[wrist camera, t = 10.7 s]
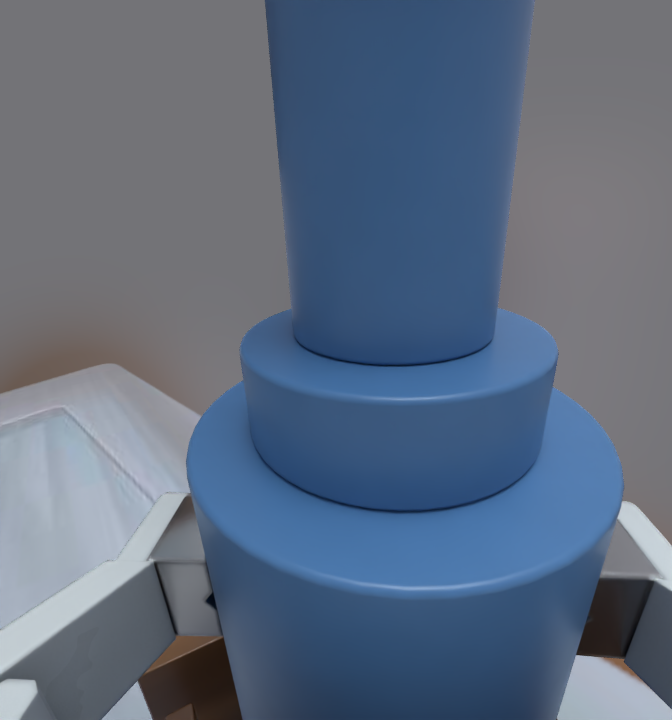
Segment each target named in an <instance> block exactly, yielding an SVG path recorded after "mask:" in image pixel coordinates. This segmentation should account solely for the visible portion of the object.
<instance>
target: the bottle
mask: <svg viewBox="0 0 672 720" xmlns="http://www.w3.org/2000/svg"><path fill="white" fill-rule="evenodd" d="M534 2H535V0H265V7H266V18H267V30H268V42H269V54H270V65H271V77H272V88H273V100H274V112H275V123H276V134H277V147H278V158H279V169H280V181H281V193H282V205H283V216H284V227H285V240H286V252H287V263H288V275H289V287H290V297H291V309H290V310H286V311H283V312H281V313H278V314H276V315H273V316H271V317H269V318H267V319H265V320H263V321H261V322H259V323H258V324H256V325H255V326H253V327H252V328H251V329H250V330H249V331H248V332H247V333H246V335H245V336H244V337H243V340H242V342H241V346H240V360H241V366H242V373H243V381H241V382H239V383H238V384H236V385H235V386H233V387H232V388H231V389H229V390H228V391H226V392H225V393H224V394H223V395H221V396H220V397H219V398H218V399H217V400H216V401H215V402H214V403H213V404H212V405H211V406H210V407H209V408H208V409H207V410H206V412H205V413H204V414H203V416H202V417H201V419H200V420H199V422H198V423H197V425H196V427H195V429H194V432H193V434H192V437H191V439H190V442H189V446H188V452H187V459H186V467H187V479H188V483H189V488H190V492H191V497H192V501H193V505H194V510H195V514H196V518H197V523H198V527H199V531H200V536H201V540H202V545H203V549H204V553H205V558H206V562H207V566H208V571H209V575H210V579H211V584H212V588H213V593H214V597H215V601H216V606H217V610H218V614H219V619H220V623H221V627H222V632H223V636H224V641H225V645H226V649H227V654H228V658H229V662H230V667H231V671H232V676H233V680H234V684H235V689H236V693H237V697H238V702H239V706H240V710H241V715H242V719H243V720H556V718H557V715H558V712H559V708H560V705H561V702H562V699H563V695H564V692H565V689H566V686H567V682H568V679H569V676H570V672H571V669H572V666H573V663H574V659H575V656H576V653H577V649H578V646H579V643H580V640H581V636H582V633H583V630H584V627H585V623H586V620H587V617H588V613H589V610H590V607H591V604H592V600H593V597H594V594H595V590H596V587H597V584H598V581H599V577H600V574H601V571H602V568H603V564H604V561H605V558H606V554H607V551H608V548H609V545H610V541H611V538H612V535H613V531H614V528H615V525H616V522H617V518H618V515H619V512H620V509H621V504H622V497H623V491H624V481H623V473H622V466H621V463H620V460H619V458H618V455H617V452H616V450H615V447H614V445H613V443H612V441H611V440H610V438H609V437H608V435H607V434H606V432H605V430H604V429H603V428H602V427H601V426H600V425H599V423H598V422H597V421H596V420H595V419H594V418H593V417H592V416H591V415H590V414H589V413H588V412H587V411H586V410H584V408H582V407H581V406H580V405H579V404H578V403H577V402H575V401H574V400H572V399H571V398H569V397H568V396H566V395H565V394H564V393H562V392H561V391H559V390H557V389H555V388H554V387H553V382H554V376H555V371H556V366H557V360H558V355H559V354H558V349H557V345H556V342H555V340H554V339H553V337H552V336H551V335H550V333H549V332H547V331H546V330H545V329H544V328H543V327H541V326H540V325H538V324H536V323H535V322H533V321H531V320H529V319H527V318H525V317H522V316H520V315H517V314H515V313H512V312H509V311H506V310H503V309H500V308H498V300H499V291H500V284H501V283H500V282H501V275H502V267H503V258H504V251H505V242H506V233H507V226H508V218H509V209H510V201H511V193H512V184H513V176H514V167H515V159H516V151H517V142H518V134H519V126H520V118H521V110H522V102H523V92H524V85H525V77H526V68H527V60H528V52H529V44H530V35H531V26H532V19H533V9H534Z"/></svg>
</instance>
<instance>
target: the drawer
mask: <svg viewBox="0 0 672 720" xmlns="http://www.w3.org/2000/svg"><path fill="white" fill-rule="evenodd" d="M137 681H138V683H139V686H140V688H141V691H142V693H143V696H144V699H145V701H146V704H147V706H148V709H149V711H150V714H151V716H152V719H153V720H243V719H242V715H241V710H240V706H239V702H238V697H237V693H236V689H235V684H234V680H233V676H232V671H231V667H230V662H229V658H228V654H227V649H226V645H225V641H224V636H223V637H220V636H176V640H175V641H174V642H173V643H172V644H171V645H170V646H169V647H168V648H167V649H166V650H165V651H164V653H163V654H162V655H161V656H160V657H159V658H158V659H157V660H156V661H155V662H154V663H153V664H152V665H151V666H150V668H149V669H148V670H147V671H146V672H145V673H144V674H143V675H142V676H141V677H140V678H139V679H138V680H137ZM556 720H557V718H556Z"/></svg>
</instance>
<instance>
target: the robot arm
mask: <svg viewBox="0 0 672 720" xmlns="http://www.w3.org/2000/svg"><path fill="white" fill-rule="evenodd" d="M176 636H220V637H223V632H222V627H221V623H220V619H219V614H218V610H217V606H216V601H215V597H214V593H213V588H212V584H211V579H210V575H209V571H208V566H207V562H206V558H205V553H204V549H203V545H202V540H201V536H200V531H199V527H198V523H197V518H196V514H195V510H194V505H193V501H192V497H191V493H176V492H166V493H164V494H163V495H161V496H160V497H159V498H158V500H157V501H156V502H155V504H154V505H153V507H152V508H151V510H150V511H149V512H148V514H147V515H146V517H145V518H144V520H143V521H142V522H141V524H140V525H139V527H138V528H137V530H136V531H135V532H134V534H133V535H132V537H131V538H130V540H129V541H128V542H127V544H126V545H125V547H124V548H123V550H122V551H121V552H120V554H119V555H118V557H117V558H116V560H106V561H105V562H103V563H102V564H100V565H99V566H97V567H96V568H94V569H93V570H91V571H89V572H88V573H86V574H85V575H83V576H82V577H80V578H79V579H77V580H76V581H74V582H73V583H71V584H70V585H68V586H66V587H65V588H63V589H62V590H60V591H59V592H57V593H56V594H54V595H53V596H51V597H50V598H48V599H46V600H45V601H43V602H42V603H40V604H39V605H37V606H36V607H34V608H33V609H31V610H30V611H28V612H27V613H25V614H23V615H22V616H20V617H19V618H17V619H16V620H14V621H13V622H11V623H10V624H8V625H7V626H5V627H3V628H2V629H0V720H101V719H102V718H103V717H104V716H105V715H106V714H107V713H108V712H109V711H110V709H111V708H112V707H113V706H114V705H115V704H116V703H117V702H118V701H119V700H120V699H121V698H122V697H123V695H124V694H125V693H126V692H127V691H128V690H129V689H130V688H131V687H132V686H133V685H134V684H135V683H136V682H137V680H138V679H139V678H140V677H141V676H142V675H143V674H144V673H145V672H146V671H147V670H148V669H149V668H150V666H151V665H152V664H153V663H154V662H155V661H156V660H157V659H158V658H159V657H160V656H161V655H162V654H163V653H164V651H165V650H166V649H167V648H168V647H169V646H170V645H171V644H172V643H173V642H174V641H175V640H176ZM576 655H582V656H595V657H607V658H619V659H625V660H624V663H625V664H626V665H627V666H629V668H630V669H632V670H633V671H634V672H635V673H636V674H637V675H638V676H639V677H640V678H641V679H642V680H643V681H644V682H645V683H646V684H647V685H648V686H649V687H650V688H651V689H652V690H653V691H654V692H655V693H656V694H657V695H658V696H659V697H660V698H661V699H662V700H663V701H664V702H665V703H666V704H667V705H668V706H669V707H670V708H671V709H672V545H671V544H670V543H669V542H668V541H667V540H666V539H665V538H664V536H663V535H662V534H661V533H660V532H659V531H658V530H657V529H656V527H655V526H654V525H653V524H652V523H651V522H650V520H648V518H647V517H646V516H645V515H644V514H643V513H642V511H641V510H640V509H639V508H638V507H637V506H636V505H634V504H632V503H631V502H628V501H622V504H621V509H620V512H619V515H618V518H617V522H616V525H615V528H614V531H613V535H612V538H611V541H610V545H609V548H608V551H607V554H606V558H605V561H604V564H603V568H602V571H601V574H600V577H599V581H598V584H597V587H596V590H595V594H594V597H593V600H592V604H591V607H590V610H589V613H588V617H587V620H586V623H585V627H584V630H583V633H582V636H581V640H580V643H579V646H578V649H577V653H576Z"/></svg>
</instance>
